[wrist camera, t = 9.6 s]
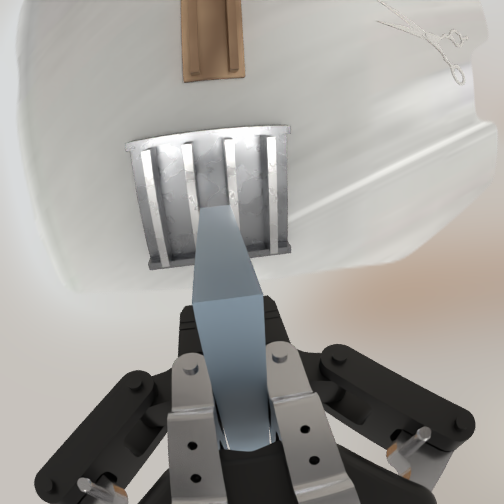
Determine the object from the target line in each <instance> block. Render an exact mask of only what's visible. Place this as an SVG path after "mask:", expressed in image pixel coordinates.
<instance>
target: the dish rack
mask: <svg viewBox="0 0 504 504" xmlns="http://www.w3.org/2000/svg"><path fill="white" fill-rule="evenodd" d="M286 134H291V130H290V126H288V125H264V126H244V127H230V128H218V129H208V130H199V131H191V132H183V133H176V134H170V135H163V136H157V137H151V138H146V139H140V140H135V141H131V142H128V143H125V148H126V151H130V154H131V161H132V168H133V174H134V180H135V186H136V192H137V198H138V203H139V208H140V213H141V218H142V223H143V228H144V232H145V237H146V241H147V245H148V250H149V254H150V260H149V263H148V265H149V269H150V270H156V269H164V268H172V267H181V266H189V265H195V254H196V243H197V232H198V222H199V213H200V208H206V207H214V206H223V205H231V208H232V211H233V214H234V216H235V219H236V222H237V225H238V227H239V230H240V233H241V235H242V238H243V241H244V244H245V246H246V249H247V252H248V255H249V257H250V258H254V257H262V256H270V255H278V254H286V253H291V246H290V244H289V243H288V241H287V236H288V197H287V139H286Z"/></svg>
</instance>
